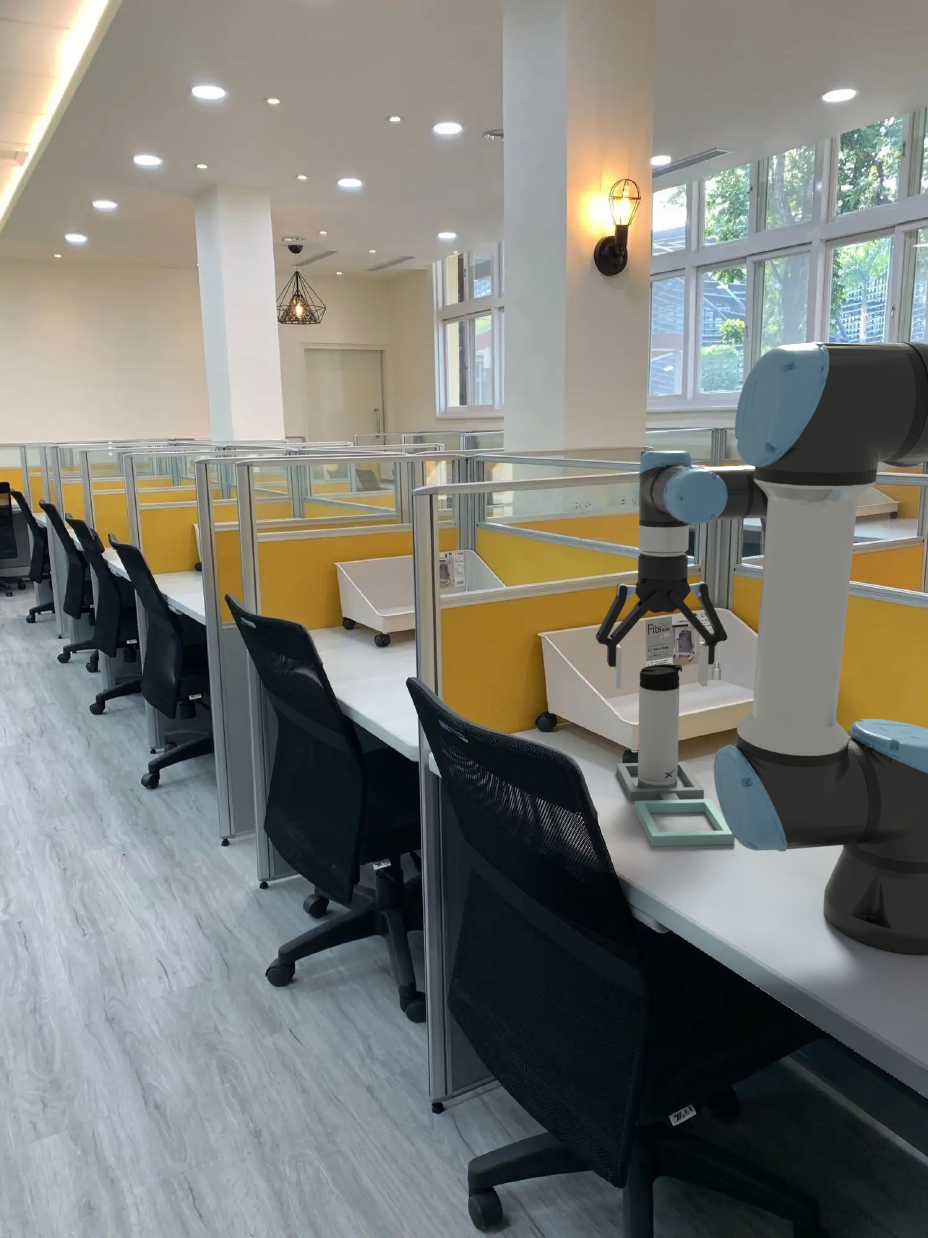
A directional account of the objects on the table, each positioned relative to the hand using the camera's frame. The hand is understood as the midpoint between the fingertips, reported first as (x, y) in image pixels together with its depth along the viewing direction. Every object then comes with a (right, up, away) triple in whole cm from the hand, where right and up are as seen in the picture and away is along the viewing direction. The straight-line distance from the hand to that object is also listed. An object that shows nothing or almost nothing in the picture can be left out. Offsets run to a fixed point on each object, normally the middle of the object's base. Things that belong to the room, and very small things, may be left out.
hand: (659, 685), depth 147 cm
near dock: (+1, -20, -13) cm, 23 cm away
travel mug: (0, -17, +3) cm, 17 cm away
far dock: (0, -17, +1) cm, 17 cm away
